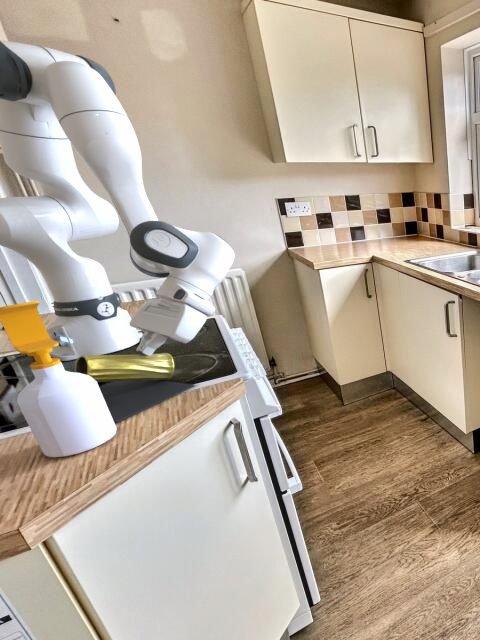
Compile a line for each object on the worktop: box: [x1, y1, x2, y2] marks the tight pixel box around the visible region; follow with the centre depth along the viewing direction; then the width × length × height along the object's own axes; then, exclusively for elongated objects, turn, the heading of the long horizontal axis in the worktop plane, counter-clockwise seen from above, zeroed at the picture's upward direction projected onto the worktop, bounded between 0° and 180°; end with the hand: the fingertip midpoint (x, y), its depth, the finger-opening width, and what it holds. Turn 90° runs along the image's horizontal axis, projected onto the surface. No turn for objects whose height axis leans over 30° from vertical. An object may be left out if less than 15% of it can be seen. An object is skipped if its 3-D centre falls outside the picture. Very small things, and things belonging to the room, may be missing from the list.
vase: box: [74, 352, 175, 383], centre depth 87 cm, size 6×6×14 cm
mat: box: [98, 380, 195, 424], centre depth 86 cm, size 20×15×1 cm
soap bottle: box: [0, 300, 117, 458], centre depth 67 cm, size 9×9×25 cm
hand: (142, 353), depth 89 cm, fingers closed, pressing on vase
